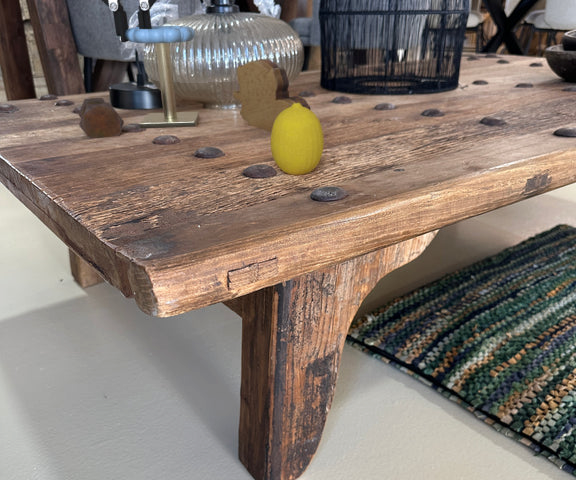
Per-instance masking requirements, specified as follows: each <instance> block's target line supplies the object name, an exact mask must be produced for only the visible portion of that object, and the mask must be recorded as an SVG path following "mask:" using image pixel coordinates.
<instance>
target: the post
mask: <svg viewBox="0 0 576 480" xmlns="http://www.w3.org/2000/svg"><path fill="white" fill-rule="evenodd" d="M154 44H155V51H156V59H157V60H156V61H157V68H158V77H159V87H160V96H161V102H162V103H161V104H162V112H148V113H147V114H146V116H144V118H143V119H142V121H141V122H140V123H139V124H140V125H139V126H140V129H171V128H172V129H173V128H174V129H175V128H197V127H198V123H199V121H200V112H199V111H179V112H178V109H177V101H176V92H175V81H174V71H173V64H172V54H171V43H154Z"/></svg>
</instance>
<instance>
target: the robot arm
mask: <svg viewBox="0 0 576 480" xmlns="http://www.w3.org/2000/svg"><path fill="white" fill-rule="evenodd" d="M138 1H139V5H138V11H137V12H136V14H137V23H138V27H139V29H152V26H153V25H152V19H151V11H150V10H151V9H152V7H153V6H154V5H155V3H156V2H157V1H158V0H138ZM101 2H102V3H103V4H104V5H106V6H107V7H108V8H109V10H110V11H111V12H112V15H113V21H114V22H113V23H114V30H115V34H116V37H119V38H120V43H128V42H129V41H128V40H127V38H126V31H127V30H128V29H129V22H128V16H127V14H128V13H127V11H126V10H124V6H123V5H122V0H101Z"/></svg>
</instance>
